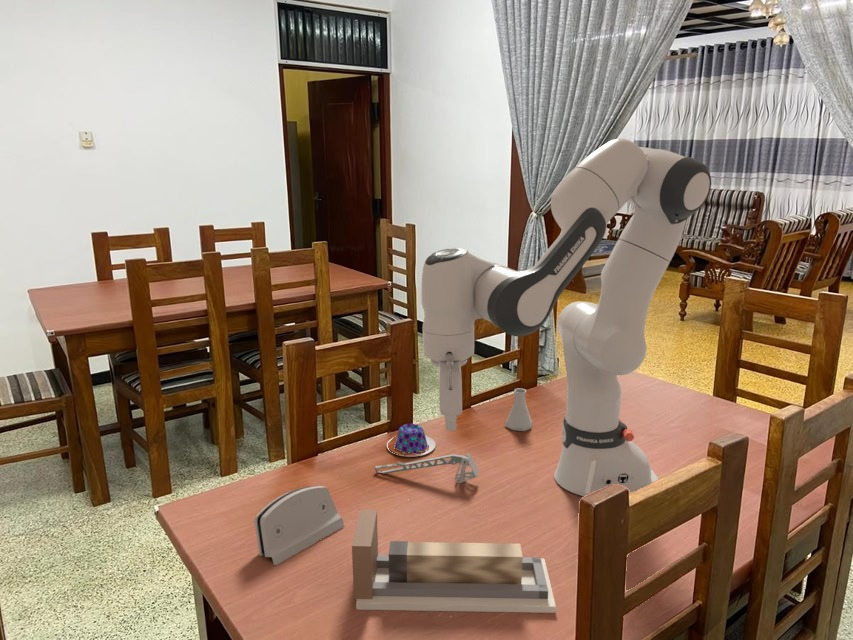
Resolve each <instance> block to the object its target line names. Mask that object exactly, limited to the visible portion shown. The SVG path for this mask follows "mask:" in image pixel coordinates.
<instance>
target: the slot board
mask: <svg viewBox="0 0 853 640" xmlns="http://www.w3.org/2000/svg"><path fill="white" fill-rule="evenodd" d="M378 535H379V534H378V510H376V509H375V510H374V509H359V512H358V516H357V521H356V526H355V530H354V534H353V539H352V544H351V556H352V558H351V560H352V561H351V562H352V584H353V586H352V587H353V600H356V602H355V606H356V607H355V609H356V610H360V611H410V612H411V611H414V612H415V611H420V612H421V611H424V612H476V613H477V612H478V613H479V612H480V613H482V612H483V613H485V612H486V613H535V614H536V613H537V614H538V613H540V614H541V613H542V614H547V613H548V614H550V613H551V614H556V609H557V607H556V602H555V596H554V593H553V590H552V584H551V581H550V576H549V573H548V568H547V564H546V560H545V558H543V557H542V558H541V557H534V556H533V557H532V556H530V557H529V556H528V557H527V556H523V561H522V581H521V584H463V583H400V582H389V554H379V538H378Z"/></svg>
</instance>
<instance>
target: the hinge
mask: <svg viewBox="0 0 853 640" xmlns="http://www.w3.org/2000/svg"><path fill="white" fill-rule="evenodd" d="M253 521H254V528H255V534H256V541H257V542H256V543H257V547H258V554H259V556H260V557H265V558H272V559H271V560H272V563H273V565H274V566H278V565H279V564H282V563H283V562H285V561H286V560H288V559H290V558H291V557H293V556H295V555H297V554H298V553H300V552H303V550H305V549H307V548H309V547H311V546H313V545H314V544H316V543H318V542H319V540H320V539H321V540H323V539H325V538H326V536H327V537H328V536H330V535H331V534H334V533H335V532H337V531H339V530H341V529H342V528H344V527H345V524H344V520H343V517H342V516H341V514H339V512H338V510H337V508H336V505H335V502H334V501H333V498H332V495H331V492H330V490H329V488H327V487H326V486H323V485H311V486H304V487H303V486H302V487H300V488H297V489H294V490H291V491H288V492H286V493H283V494H282V495H280V496H278V497H277V498H274V500H272V501H270V502H269V503H268V504H267V505H265V506H264V507H263V508H262V509H261V510H260V511H259V512H258V513H257V514H256V515H255V517H254V520H253ZM322 538H323V539H322ZM321 540H320V541H321Z"/></svg>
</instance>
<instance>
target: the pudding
mask: <svg viewBox="0 0 853 640" xmlns="http://www.w3.org/2000/svg"><path fill="white" fill-rule="evenodd" d="M396 436H397V439H396V443H395V444H396V446H395V445H394V448H395V447H396V448H397V449H399V450H401V452H405V453H408V452H410V453H418V452H419V451H424V450H425V449H426V450H427V448H428V447H427V446H428V445H429V450H428V451H426V450H425V451H426V452H425V453H423V454H421V455H416V456H406V457H407V458H410V457H411V458H412V457H419V456H420V457H421V456H425V455H427V454H430V453H431V452H432V451H433V450H434V449H436V442H435V440H434V439H433V438H431V437H430V436H427V435H426V434H425V430H424V428H423V427H422V426H421V425H420V424H417V423H416V424H415V423H406V424H403V425H401V426H400V427H399V428H398V431H397V435H394V436H393V437H391V438H390V439H389V440H388V441H387V443H386V449H387V450H388V451H389V452H390V453H391V454H395V453H393V452H391V451H390V450H389V448H388V443H389V442H390V441H391V440H392V439H393V438H394V437H396ZM426 447H427V448H426ZM401 452H400V453H401ZM419 453H420V452H419ZM419 453H418V454H419ZM396 455H397V456H400V457H405V456H404V455H398V454H395V456H396Z"/></svg>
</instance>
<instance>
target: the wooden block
mask: <svg viewBox="0 0 853 640" xmlns="http://www.w3.org/2000/svg"><path fill="white" fill-rule="evenodd" d="M388 555H389V582H400V583H463V584H521V581H522V561H523V557H524V556H523V552H522V545H521V543H506V542H505V543H501V542H500V543H499V542H498V543H497V542H496V543H495V542H494V543H493V542H439V541H438V542H437V541H436V542H432V541H431V542H430V541H420V542H419V541H407V540H404V541H403V540H390V541H389V547H388Z"/></svg>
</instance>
